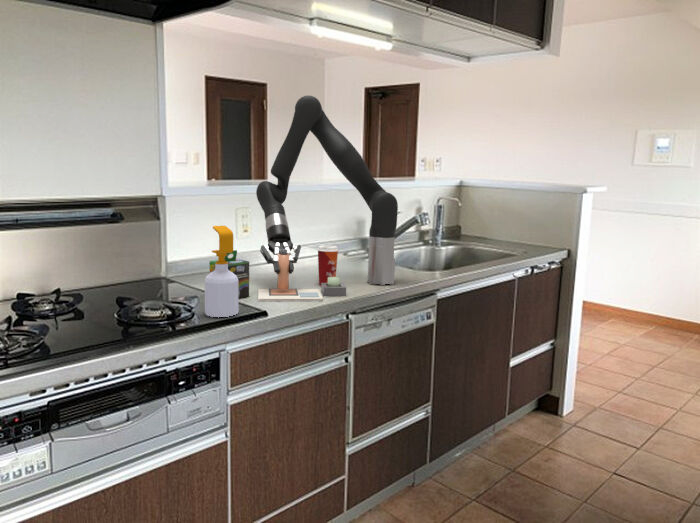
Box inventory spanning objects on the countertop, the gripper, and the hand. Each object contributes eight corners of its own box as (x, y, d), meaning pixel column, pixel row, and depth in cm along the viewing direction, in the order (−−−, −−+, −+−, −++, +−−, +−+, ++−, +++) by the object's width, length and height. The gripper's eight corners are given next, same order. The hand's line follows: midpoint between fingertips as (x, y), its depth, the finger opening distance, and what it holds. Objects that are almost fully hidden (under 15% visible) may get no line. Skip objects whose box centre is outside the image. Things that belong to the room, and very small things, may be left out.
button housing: (342, 291, 193) (343, 282, 193) (346, 296, 186) (346, 287, 185) (321, 291, 192) (321, 282, 191) (323, 296, 185) (323, 287, 184)
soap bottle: (227, 308, 165) (227, 224, 161) (244, 315, 159) (244, 227, 155) (199, 313, 160) (198, 225, 156) (215, 320, 153) (214, 228, 149)
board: (318, 291, 192) (318, 288, 192) (323, 301, 178) (323, 297, 178) (258, 291, 189) (258, 288, 189) (258, 301, 175) (258, 298, 175)
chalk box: (231, 292, 187) (231, 247, 185) (250, 296, 181) (250, 250, 179) (208, 296, 180) (208, 249, 178) (227, 301, 174) (227, 253, 172)
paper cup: (333, 288, 198) (334, 248, 195) (312, 286, 200) (313, 246, 198) (341, 284, 205) (342, 245, 202) (321, 282, 207) (322, 244, 205)
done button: (338, 288, 191) (339, 276, 190) (340, 290, 187) (340, 278, 186) (326, 288, 190) (327, 276, 190) (328, 290, 186) (328, 278, 186)
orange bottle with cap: (288, 286, 187) (289, 248, 185) (288, 289, 184) (289, 250, 181) (277, 286, 186) (277, 248, 184) (277, 289, 183) (278, 250, 181)
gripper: (258, 223, 186) (264, 266, 177) (300, 223, 191) (308, 265, 182) (255, 237, 192) (261, 279, 183) (296, 237, 197) (304, 278, 187)
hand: (284, 272), depth 182 cm, fingers closed on orange bottle with cap, 3 cm apart
